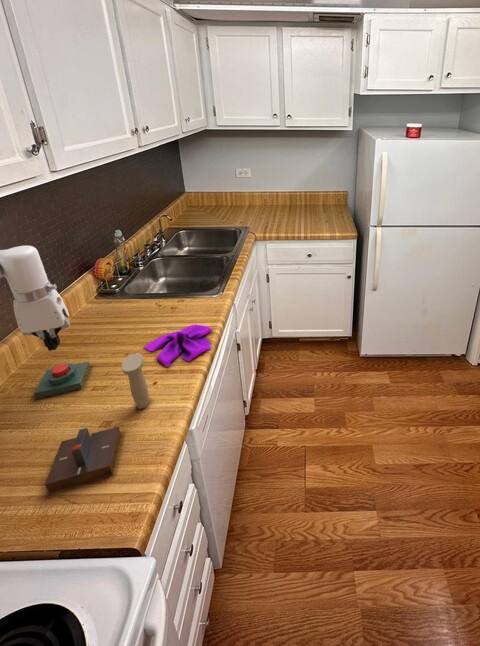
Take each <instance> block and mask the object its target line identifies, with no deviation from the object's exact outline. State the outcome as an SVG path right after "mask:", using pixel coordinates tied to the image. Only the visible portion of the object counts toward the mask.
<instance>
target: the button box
mask: <svg viewBox="0 0 480 646" xmlns="http://www.w3.org/2000/svg"><path fill="white" fill-rule="evenodd" d="M66 364H67V365H68V368H69V372H68V373H66V374H65V375H63V376H61V377H54V375H53V372H52V370H53V369H54V368H49V369H46V370H45V373H44V375H43V376H42V378H41V380H40V382H39V383H38V385H37V387H36V389H35V391H34V393H33V394H34V396H35V399H36V400H38V399H42V398H47V397H51V396H56V395H60V394H66V393H69V392H74V391H79V390H82V389H83V387H84V384H85V382H86V379H87V376H88V374H89V372H90V369H91V365H90V362H89V361H84V362H79V363H71V362H68V363H66Z"/></svg>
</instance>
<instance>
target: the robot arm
mask: <svg viewBox="0 0 480 646" xmlns="http://www.w3.org/2000/svg"><path fill="white" fill-rule="evenodd" d="M2 277H3V278H5V279H6V281H7V283H8V286H9V289H10V291H11V293H12V296H13V298H14V300H13V302H12V303H13V313H14V317H15V320H16V324H17V326H18V329H19V331H20V332H21V333H22V335H23V336H34V337H37V338H39V340H40V341H43V344H44V346H45V348H47V350H48V352H52V351H56V350H57V349H58V347H59V345H60V344H61V339H60V336H59V333H60V332H61V330H65V329H68V328H69V327H70V325H71V321H69V319H68V318H70V313H69V310H68V308H67V306H66V304H65V302H64V300H63V298H62V296H61V295H60V294H59V292H58V291H57V289H58V287H57V284H55V283H54V284H52V283H51V281H50V280H49V278H48V276H47V272H46V270H45V267H44V264H43V261H42V259H41V257H40V253H39V250H38V249H37V248H36V247H35V246H33V245H19V246H13V247H11V248H7V249H0V279H1V278H2Z"/></svg>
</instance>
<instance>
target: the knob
mask: <svg viewBox="0 0 480 646" xmlns="http://www.w3.org/2000/svg"><path fill="white" fill-rule="evenodd" d="M90 434H91V433H90V431H89V429H88V427H84V428H80V429H78V433H77V435H76V437H75V438H76V441H75V444H74V447H73V449H72V454H73V457H74V459H75V462H76V464H77V466H78V465H81V464H85V462H86V459H87V456H88V452H89V449H90V446H91V442H92V440H91V437H90Z"/></svg>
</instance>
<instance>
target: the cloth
mask: <svg viewBox="0 0 480 646" xmlns="http://www.w3.org/2000/svg"><path fill="white" fill-rule="evenodd" d="M212 330H213V328H211V327H209V326H207V325H202V324H192V325H190V326H187V327H185V328H183V329H181V330H177V331H173V332H171V333H168V334H164V335H162V336H160V337H157V338H156V339H153V341H151V342H150V343H148V344H146V345H145V346H144V349H145V350H147V351H149V352H155V351H157V350H159V349H161V348H163V347H164V348H163V350H161V352H160V353H159V354H158V356H157V357H156V359H157V361H159V362H160V363H161V364H162V365H164V366H165V368H166V367H167V368H169V367H170V366H171V364H172V362H173V361H175V360H176V359H177V358H179V356H180V355H181V358H182V360H184V361H187V362H191V361H192V360H194V359H196V358H197V357H198V356H200V355H202V354H203V353H205V352H207V351H208V350H210V349H211V344H210V341H209V339H207V337H206V335H207V334H209V333H211V332H212Z"/></svg>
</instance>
